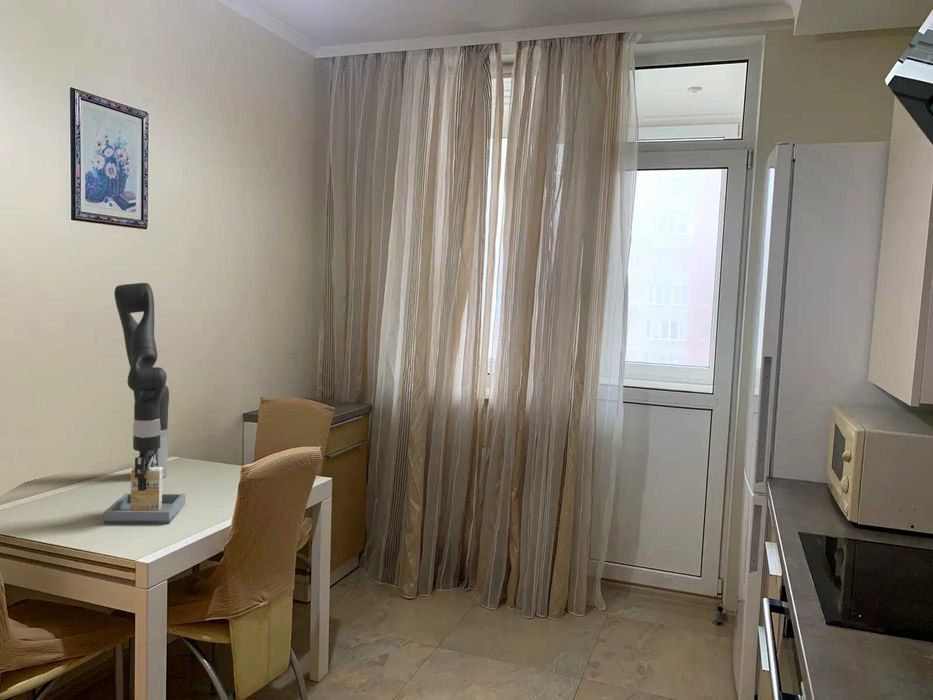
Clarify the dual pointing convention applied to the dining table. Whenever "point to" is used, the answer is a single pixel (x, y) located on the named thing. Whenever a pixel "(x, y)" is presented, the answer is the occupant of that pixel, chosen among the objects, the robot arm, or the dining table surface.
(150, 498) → the supplement box
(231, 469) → the dining table surface
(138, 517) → the tray
